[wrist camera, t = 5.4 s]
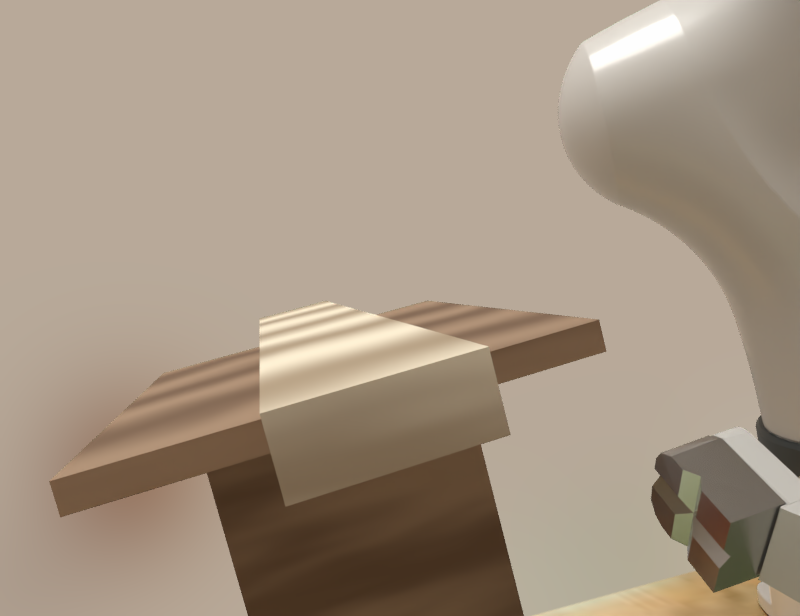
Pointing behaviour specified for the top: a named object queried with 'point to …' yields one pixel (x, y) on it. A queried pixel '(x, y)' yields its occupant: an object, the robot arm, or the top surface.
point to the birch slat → (368, 397)
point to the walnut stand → (339, 510)
